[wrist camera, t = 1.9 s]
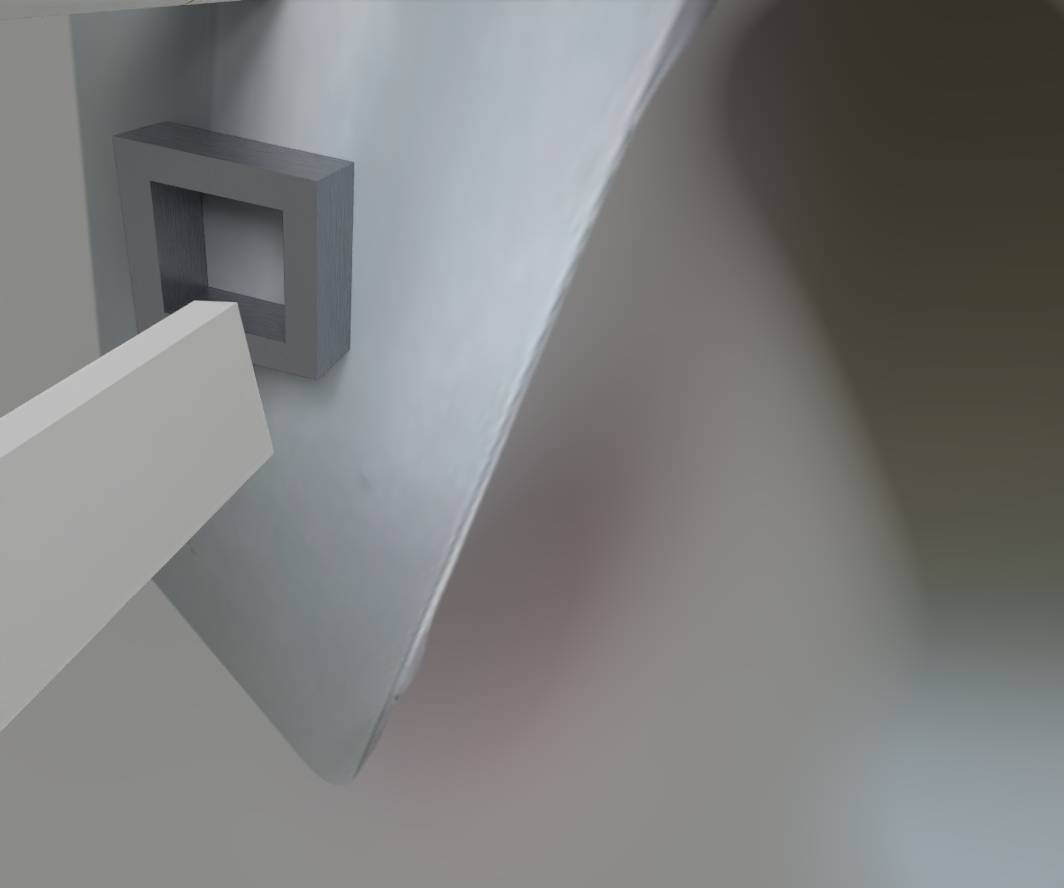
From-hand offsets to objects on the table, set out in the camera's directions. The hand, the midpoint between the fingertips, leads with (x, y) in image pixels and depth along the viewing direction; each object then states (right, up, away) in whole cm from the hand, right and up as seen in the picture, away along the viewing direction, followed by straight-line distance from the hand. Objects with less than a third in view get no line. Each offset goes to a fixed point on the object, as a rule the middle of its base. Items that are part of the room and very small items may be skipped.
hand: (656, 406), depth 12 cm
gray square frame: (-14, +9, +26) cm, 31 cm away
